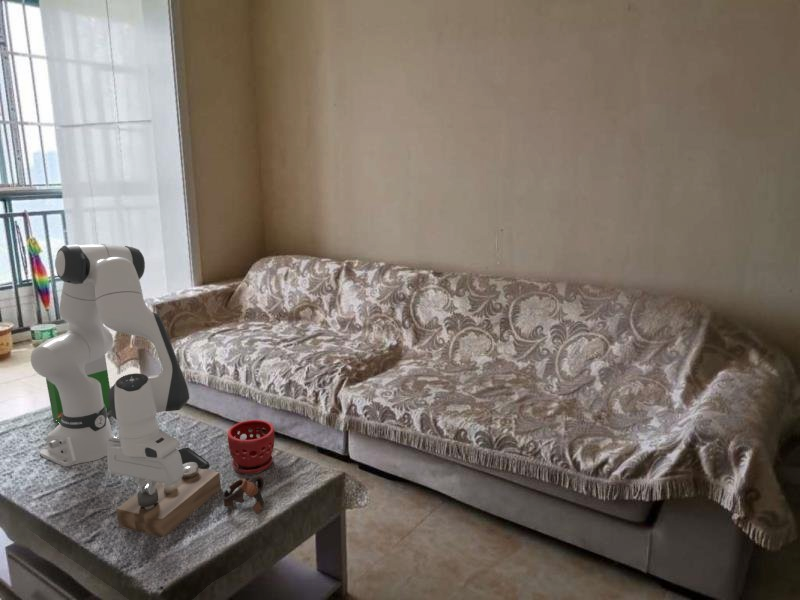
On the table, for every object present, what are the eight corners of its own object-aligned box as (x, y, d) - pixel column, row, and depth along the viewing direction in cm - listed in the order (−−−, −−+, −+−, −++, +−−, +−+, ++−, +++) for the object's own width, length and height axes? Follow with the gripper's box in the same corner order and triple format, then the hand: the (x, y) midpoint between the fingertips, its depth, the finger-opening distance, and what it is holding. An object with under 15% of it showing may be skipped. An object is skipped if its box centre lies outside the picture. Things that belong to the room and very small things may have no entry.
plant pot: (224, 478, 163) (220, 439, 161) (239, 454, 176) (235, 418, 173) (270, 478, 163) (266, 439, 160) (281, 455, 176) (278, 419, 173)
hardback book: (105, 402, 216) (95, 341, 211) (113, 408, 211) (103, 346, 206) (53, 418, 204) (41, 354, 198) (60, 424, 199) (48, 359, 193)
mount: (118, 526, 143) (115, 508, 142) (179, 480, 163) (177, 464, 162) (164, 537, 138) (161, 519, 137) (221, 488, 158) (219, 472, 157)
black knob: (136, 521, 142) (132, 496, 140) (150, 510, 146) (146, 486, 144) (151, 524, 140) (148, 499, 139) (164, 514, 145) (161, 489, 143)
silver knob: (178, 492, 156) (175, 469, 154) (190, 483, 160) (187, 461, 158) (192, 495, 154) (189, 472, 153) (203, 486, 159) (201, 463, 157)
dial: (160, 491, 148) (159, 482, 148) (169, 485, 151) (168, 475, 151) (171, 493, 147) (169, 484, 147) (179, 487, 150) (178, 477, 150)
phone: (187, 446, 180) (210, 463, 170) (187, 449, 181) (210, 466, 170) (162, 455, 175) (184, 473, 165) (162, 459, 175) (184, 477, 165)
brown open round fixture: (253, 522, 144) (233, 498, 142) (230, 527, 149) (211, 503, 147) (279, 487, 154) (261, 464, 152) (257, 492, 159) (239, 470, 157)
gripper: (96, 441, 139) (105, 492, 142) (165, 453, 132) (172, 507, 135) (117, 430, 145) (124, 479, 148) (184, 441, 138) (190, 492, 141)
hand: (148, 492), depth 142 cm, fingers closed, pressing on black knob
